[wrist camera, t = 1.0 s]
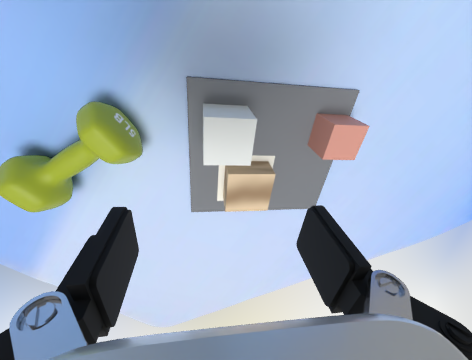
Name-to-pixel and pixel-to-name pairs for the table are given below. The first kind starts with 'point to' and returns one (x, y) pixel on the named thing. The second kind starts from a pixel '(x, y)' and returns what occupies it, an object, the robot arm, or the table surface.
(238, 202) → the oak base
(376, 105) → the table surface
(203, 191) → the grey mat
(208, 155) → the grey cube
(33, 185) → the dumbbell
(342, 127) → the red cube
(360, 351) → the robot arm
